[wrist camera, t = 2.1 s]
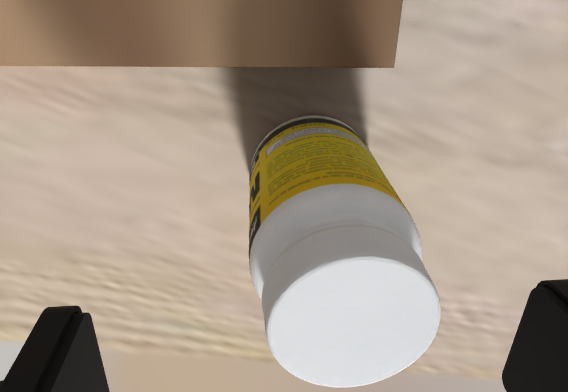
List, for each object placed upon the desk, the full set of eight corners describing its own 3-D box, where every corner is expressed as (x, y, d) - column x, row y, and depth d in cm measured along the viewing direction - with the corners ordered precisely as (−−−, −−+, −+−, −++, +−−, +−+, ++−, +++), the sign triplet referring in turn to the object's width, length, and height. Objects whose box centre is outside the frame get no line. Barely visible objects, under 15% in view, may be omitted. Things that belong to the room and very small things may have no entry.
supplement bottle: (232, 134, 16) (215, 274, 9) (355, 95, 16) (447, 207, 8) (271, 237, 18) (284, 419, 11) (380, 205, 18) (470, 371, 11)
